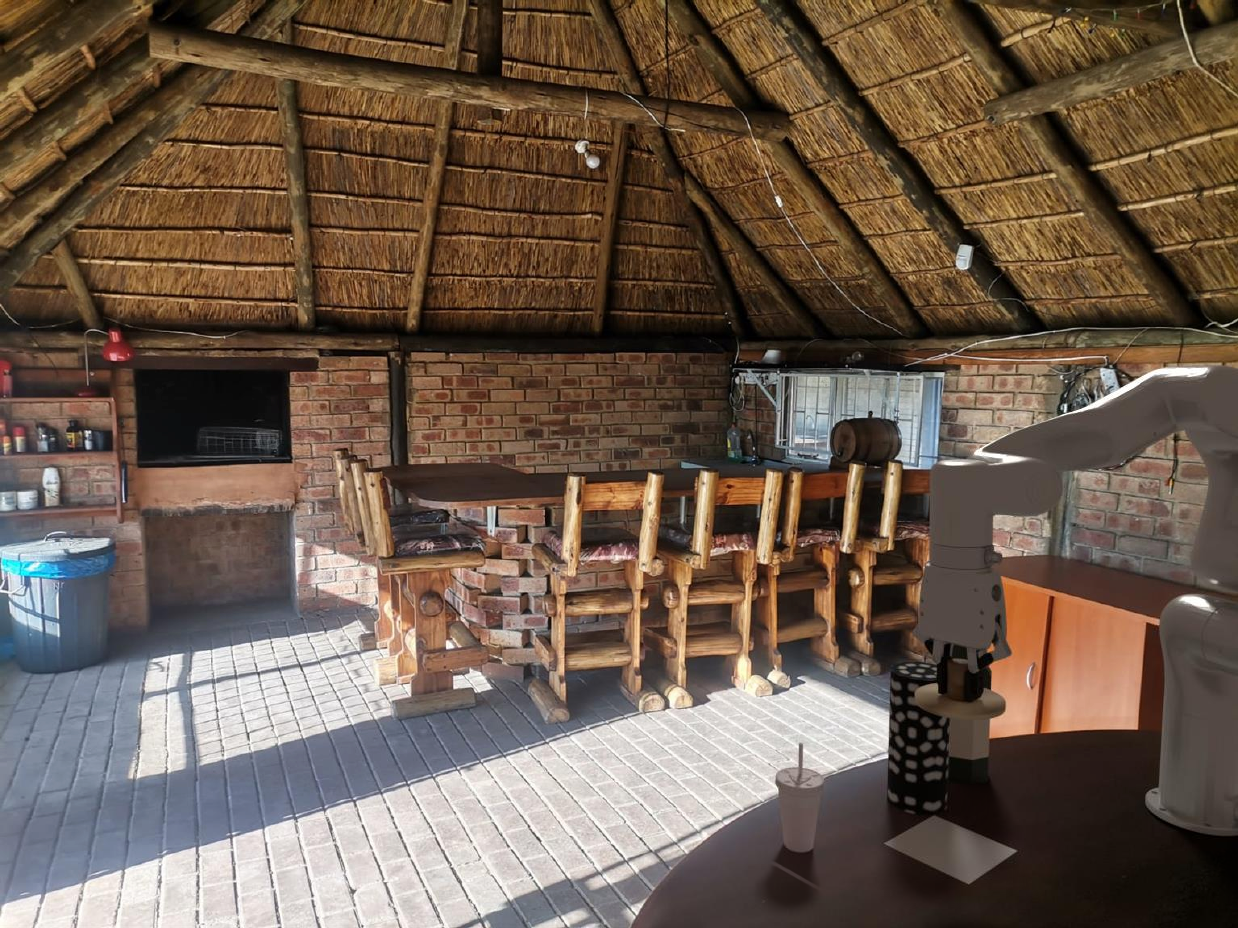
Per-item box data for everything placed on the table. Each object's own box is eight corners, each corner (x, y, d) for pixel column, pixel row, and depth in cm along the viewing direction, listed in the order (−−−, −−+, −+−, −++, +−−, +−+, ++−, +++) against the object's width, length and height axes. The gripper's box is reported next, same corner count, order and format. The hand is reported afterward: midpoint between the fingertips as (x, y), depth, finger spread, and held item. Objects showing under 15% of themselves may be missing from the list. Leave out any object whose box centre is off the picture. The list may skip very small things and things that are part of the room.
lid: (1021, 704, 111) (1022, 662, 111) (977, 727, 104) (977, 683, 104) (943, 682, 120) (943, 643, 119) (897, 702, 113) (897, 661, 112)
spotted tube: (940, 822, 121) (944, 684, 119) (880, 807, 125) (883, 673, 123) (952, 798, 128) (956, 667, 126) (895, 785, 132) (898, 658, 130)
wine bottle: (998, 786, 132) (1006, 593, 129) (943, 785, 132) (950, 593, 129) (977, 762, 140) (984, 581, 137) (925, 762, 140) (931, 580, 137)
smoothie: (825, 839, 116) (827, 739, 115) (820, 863, 110) (822, 758, 109) (778, 831, 119) (779, 732, 117) (770, 855, 112) (772, 751, 111)
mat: (1017, 853, 113) (1017, 850, 113) (968, 886, 105) (968, 883, 105) (933, 817, 122) (933, 815, 122) (883, 846, 115) (884, 843, 115)
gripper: (1038, 561, 106) (1036, 705, 108) (920, 544, 119) (919, 673, 121) (1008, 571, 101) (1006, 721, 103) (888, 552, 114) (888, 686, 116)
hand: (959, 694), depth 112 cm, fingers closed on lid, 3 cm apart
